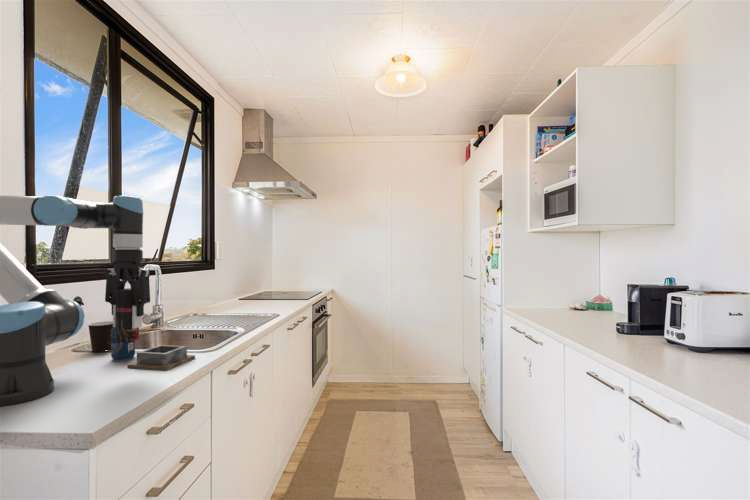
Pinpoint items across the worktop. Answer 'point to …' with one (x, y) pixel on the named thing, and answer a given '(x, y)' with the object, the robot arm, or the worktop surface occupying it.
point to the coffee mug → (100, 335)
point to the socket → (161, 357)
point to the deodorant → (125, 316)
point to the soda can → (121, 348)
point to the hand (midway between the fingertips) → (127, 326)
